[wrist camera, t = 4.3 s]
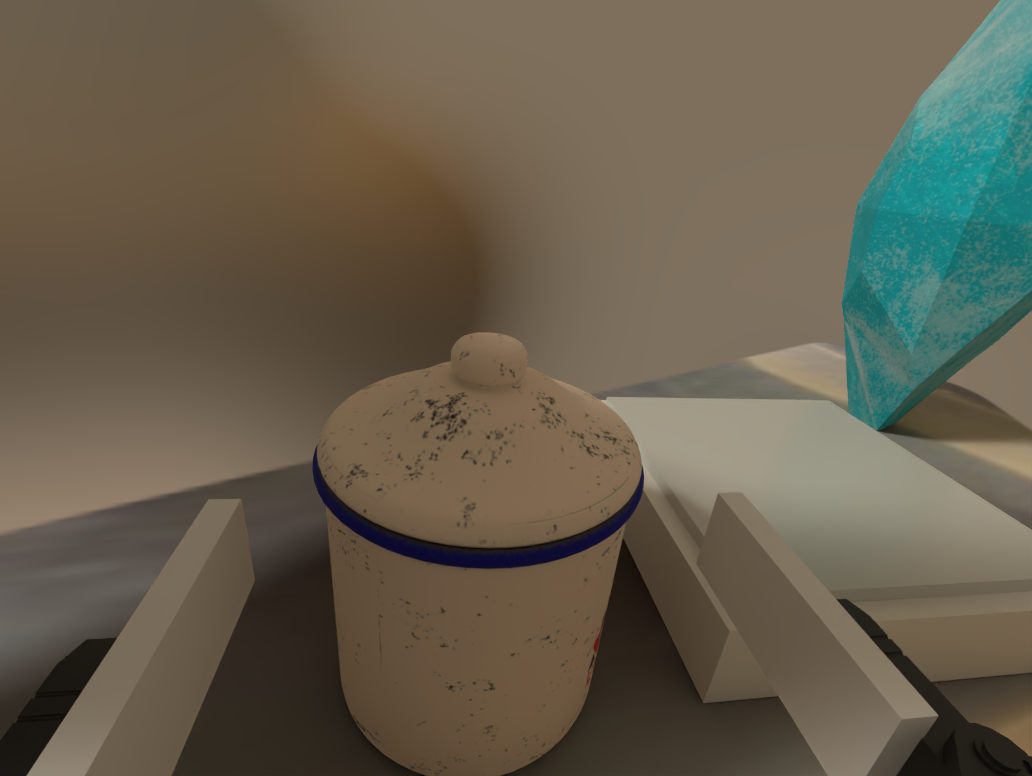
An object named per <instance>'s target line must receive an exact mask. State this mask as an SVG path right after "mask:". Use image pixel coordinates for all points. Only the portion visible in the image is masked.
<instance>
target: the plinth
mask: <svg viewBox="0 0 1032 776" xmlns="http://www.w3.org/2000/svg"><path fill="white" fill-rule="evenodd" d="M600 401H601V402H603V403H604V404H606V405H607V406H608V407H610V408H611V409H612V410H613V411H614V412H615V413H617V414H618V415H619V416H620V417H621V419H622V420H623V421H624V422H625V423H626V425H627V426H628V427H629V429H630V430H631V432H632V434H633V436H634V438H635V440H636V442H637V444H638V447H639V450H640V454H641V460H642V466H643V471H644V488H643V492H642V496H641V499H640V501H639V503H638V506H637V508H636V510H635V511H634V513H633V514H632V515H631V517H630V518H629V519H628V520H627V522H626V525H625V530H624V534H623V539H624V541H625V543H626V545H627V547H628V549H629V551H630V553H631V555H632V557H633V559H634V561H635V563H636V565H637V568H638V570H639V572H640V574H641V576H642V578H643V580H644V582H645V584H646V586H647V588H648V590H649V592H650V594H651V596H652V598H653V601H654V603H655V605H656V607H657V609H658V611H659V613H660V615H661V617H662V619H663V621H664V623H665V625H666V627H667V629H668V631H669V634H670V636H671V638H672V640H673V642H674V644H675V646H676V648H677V650H678V652H679V654H680V656H681V658H682V660H683V662H684V665H685V667H686V669H687V671H688V673H689V675H690V677H691V679H692V681H693V683H694V685H695V687H696V689H697V691H698V693H699V695H700V698H701V700H702V702H703V703H711V702H721V701H732V700H743V699H754V698H764V697H775V696H778V695H777V693H776V692H775V690H774V688H773V687H772V685H771V684H770V682H769V680H768V679H767V677H766V676H765V674H764V672H763V671H762V669H761V667H760V666H759V664H758V663H757V661H756V659H755V658H754V656H753V655H752V653H751V651H750V650H749V648H748V647H747V645H746V643H745V642H744V640H743V638H742V637H741V635H740V634H739V632H738V630H737V629H736V627H735V626H734V624H733V622H732V621H731V619H730V617H729V616H728V614H727V613H726V611H725V609H724V608H723V606H722V605H721V603H720V601H719V600H718V598H717V597H716V595H715V593H714V592H713V590H712V588H711V587H710V585H709V584H708V582H707V580H706V579H705V577H704V576H703V574H702V572H701V571H700V569H699V568H698V566H697V564H696V563H697V559H698V556H699V553H700V550H701V546H702V543H703V540H704V537H705V533H706V530H707V527H708V524H709V520H710V517H711V514H712V511H713V507H714V504H715V501H716V497H717V494H718V493H732V492H742V493H743V494H744V496H745V497H746V498H747V499H748V500H749V501H750V502H751V503H752V505H753V506H754V507H755V508H756V509H757V510H758V511H759V513H760V514H761V515H762V516H763V517H764V518H765V519H766V520H767V522H768V523H769V524H770V525H771V526H772V527H773V528H774V530H775V531H776V532H777V533H778V534H779V535H780V536H781V537H782V539H783V540H784V541H785V542H786V543H787V544H788V545H789V547H790V548H791V549H792V550H793V551H794V552H795V553H796V554H797V556H798V557H799V558H800V559H801V560H802V561H803V562H804V564H805V565H806V566H807V567H808V568H809V569H810V570H811V571H812V573H813V574H814V575H815V576H816V577H817V578H818V579H819V581H820V582H821V583H822V584H823V585H824V586H825V587H826V588H827V590H828V591H829V592H830V593H831V594H832V595H833V596H834V598H835V599H847V600H849V601H850V602H852V603H853V604H854V605H856V606H857V607H858V608H860V609H861V610H863V611H864V612H865V613H867V614H868V615H869V616H870V617H871V618H872V619H873V620H874V621H875V622H876V623H877V624H878V625H879V626H880V627H881V629H882V630H883V631H884V632H885V633H886V634H887V635H888V639H892V640H893V641H894V643H895V644H896V645H897V646H898V647H899V648H900V649H901V650H902V651H903V652H902V653H903V655H904V656H907V657H908V658H909V659H910V660H911V661H912V662H913V663H914V664H915V665H916V666H917V667H918V669H919V670H920V671H921V672H922V673H923V674H924V675H925V676H926V677H927V678H928V679H929V680H930V682H936V681H947V680H957V679H968V678H979V677H989V676H1000V675H1011V674H1022V673H1032V530H1031V529H1029V528H1028V527H1026V526H1025V525H1023V524H1021V523H1020V522H1018V521H1017V520H1015V519H1014V518H1012V517H1011V516H1009V515H1007V514H1006V513H1004V512H1003V511H1001V510H1000V509H998V508H996V507H995V506H993V505H992V504H990V503H989V502H987V501H985V500H984V499H982V498H981V497H979V496H978V495H976V494H974V493H973V492H971V491H970V490H968V489H967V488H965V487H964V486H962V485H960V484H959V483H957V482H956V481H954V480H953V479H951V478H949V477H948V476H946V475H945V474H943V473H942V472H940V471H938V470H937V469H935V468H934V467H932V466H931V465H929V464H928V463H926V462H924V461H923V460H921V459H920V458H918V457H917V456H915V455H913V454H912V453H910V452H909V451H907V450H906V449H904V448H902V447H901V446H899V445H898V444H896V443H895V442H893V441H891V440H890V439H888V438H887V437H885V436H884V435H882V434H881V433H879V432H877V431H876V430H874V429H873V428H871V427H870V426H868V425H866V424H865V423H863V422H862V421H860V420H859V419H857V418H855V417H854V416H852V415H851V414H849V413H848V412H846V411H844V410H843V409H841V408H840V407H838V406H837V405H835V404H834V403H832V402H830V401H829V400H770V399H704V398H639V397H607V400H600Z"/></svg>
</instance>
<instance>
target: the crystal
mask: <svg viewBox="0 0 1032 776" xmlns="http://www.w3.org/2000/svg"><path fill="white" fill-rule="evenodd" d="M842 308H843V316H844V328H845V349H846V369H847V388H848V408H849V414H851V415H852V416H854V417H855V418H857V419H859V420H860V421H862V422H863V423H865V424H866V425H868V426H870V427H871V428H873V429H874V430H876V431H880V430H882V429H884V428H887V427H889V426H891V425H893V424H894V423H895V422H896V421H898V420H899V419H900V418H901V417H902V416H904V415H905V414H906V413H907V412H908V411H910V410H911V409H912V408H913V407H914V406H916V405H917V404H918V403H919V402H920V401H922V400H923V399H924V398H925V397H926V396H928V395H929V394H930V393H931V392H933V391H934V390H935V389H936V388H938V387H939V386H940V385H941V384H943V383H944V382H945V381H946V380H948V379H949V378H950V377H951V376H952V375H954V374H955V373H956V372H957V371H959V370H960V369H961V368H962V367H964V366H965V365H966V364H967V363H969V362H970V361H971V360H973V359H974V358H975V357H976V356H978V355H979V354H980V353H982V352H983V351H984V350H986V349H987V348H988V347H990V346H991V345H992V344H994V343H995V342H996V341H998V340H999V339H1000V338H1001V337H1002V336H1003V335H1004V334H1006V333H1007V332H1008V331H1009V330H1010V329H1011V328H1012V327H1013V326H1014V325H1016V324H1017V323H1018V322H1019V321H1020V320H1021V319H1022V318H1024V316H1026V315H1027V314H1028V313H1029V312H1030V311H1031V310H1032V0H1000V2H999V3H998V4H997V5H996V7H995V8H994V9H993V10H992V12H991V13H990V14H989V15H988V16H987V18H986V19H985V20H984V21H983V23H982V24H981V25H980V26H979V27H978V29H977V30H976V31H975V32H974V34H973V35H972V36H971V37H970V38H969V40H968V41H967V42H966V43H965V45H964V46H963V47H962V48H961V49H960V51H959V52H958V53H957V54H956V56H955V57H954V58H953V59H952V60H951V62H950V63H949V64H948V65H947V67H946V68H945V69H944V70H943V72H942V73H941V74H940V75H939V76H938V77H937V78H936V80H935V81H934V82H933V83H932V84H931V85H930V87H929V88H928V89H927V90H926V91H925V92H924V93H923V94H922V96H921V97H920V99H919V100H918V102H917V104H916V105H915V107H914V109H913V110H912V112H911V114H910V115H909V117H908V119H907V120H906V122H905V124H904V125H903V127H902V129H901V130H900V132H899V134H898V136H897V137H896V139H895V140H894V142H893V144H892V145H891V147H890V149H889V150H888V152H887V154H886V156H885V157H884V159H883V161H882V163H881V164H880V166H879V168H878V169H877V171H876V173H875V174H874V176H873V178H872V180H871V181H870V183H869V185H868V186H867V188H866V190H865V192H864V193H863V195H862V197H861V199H860V201H859V203H858V205H857V209H856V214H855V221H854V228H853V234H852V241H851V248H850V255H849V261H848V268H847V274H846V281H845V287H844V293H843V299H842Z"/></svg>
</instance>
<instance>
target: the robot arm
mask: <svg viewBox="0 0 1032 776" xmlns="http://www.w3.org/2000/svg"><path fill="white" fill-rule="evenodd" d="M696 564H697V566H698V568H699V569H700V571H701V572H702V574H703V576H704V577H705V579H706V580H707V582H708V584H709V585H710V587H711V588H712V590H713V592H714V593H715V595H716V597H717V598H718V600H719V601H720V603H721V605H722V606H723V608H724V609H725V611H726V613H727V614H728V616H729V617H730V619H731V621H732V622H733V624H734V626H735V627H736V629H737V630H738V632H739V634H740V635H741V637H742V638H743V640H744V642H745V643H746V645H747V647H748V648H749V650H750V651H751V653H752V655H753V656H754V658H755V659H756V661H757V663H758V664H759V666H760V667H761V669H762V671H763V672H764V674H765V676H766V677H767V679H768V680H769V682H770V684H771V685H772V687H773V688H774V690H775V692H776V693H777V695H778V696H779V698H780V700H781V701H782V703H783V705H784V706H785V708H786V709H787V711H788V713H789V714H790V716H791V717H792V719H793V721H794V722H795V724H796V725H797V727H798V729H799V730H800V732H801V734H802V735H803V737H804V738H805V740H806V742H807V743H808V745H809V746H810V748H811V750H812V751H813V753H814V754H815V756H816V758H817V759H818V761H819V763H820V764H821V766H822V767H823V769H824V771H825V772H826V774H827V775H828V776H1032V757H1031V756H1028V755H1027V754H1026V753H1025V752H1024V751H1023V750H1022V749H1021V748H1019V747H1018V746H1017V745H1016V744H1015V743H1013V742H1012V741H1011V740H1010V739H1008V738H1006V737H1005V736H1003V735H1001V734H1000V733H998V732H996V731H994V730H993V729H991V728H988V727H985V726H982V725H979V724H976V723H969V722H968V721H967V720H966V719H965V718H964V717H963V716H962V715H961V714H960V713H959V712H958V711H957V710H956V709H955V708H954V706H953V705H952V704H951V703H950V702H949V701H948V700H947V699H946V698H945V697H944V696H943V695H942V693H941V692H940V691H939V690H938V689H937V688H936V687H935V686H934V685H933V684H932V683H931V682H930V680H929V679H928V678H927V677H926V676H925V675H924V674H923V673H922V672H921V671H920V670H919V669H918V667H917V666H916V665H915V664H914V663H913V662H912V661H911V660H910V659H909V658H908V657H907V656H904V655H903V653H902V652H903V651H902V650H901V649H900V648H899V647H898V646H897V645H896V644H895V643H894V641H893V640H892V639H888V635H887V634H886V633H885V632H884V631H883V630H882V629H881V627H880V626H879V625H878V624H877V623H876V622H875V621H874V620H873V619H872V618H871V617H870V616H869V615H868V614H867V613H865V612H864V611H863V610H861V609H860V608H858V607H857V606H856V605H854V604H853V603H852V602H850V601H849V600H847V599H835V598H834V596H833V595H832V594H831V593H830V592H829V591H828V590H827V588H826V587H825V586H824V585H823V584H822V583H821V582H820V581H819V579H818V578H817V577H816V576H815V575H814V574H813V573H812V571H811V570H810V569H809V568H808V567H807V566H806V565H805V564H804V562H803V561H802V560H801V559H800V558H799V557H798V556H797V554H796V553H795V552H794V551H793V550H792V549H791V548H790V547H789V545H788V544H787V543H786V542H785V541H784V540H783V539H782V537H781V536H780V535H779V534H778V533H777V532H776V531H775V530H774V528H773V527H772V526H771V525H770V524H769V523H768V522H767V520H766V519H765V518H764V517H763V516H762V515H761V514H760V513H759V511H758V510H757V509H756V508H755V507H754V506H753V505H752V503H751V502H750V501H749V500H748V499H747V498H746V497H745V496H744V494H743V493H742V492H732V493H718V494H717V497H716V501H715V504H714V507H713V511H712V514H711V517H710V520H709V524H708V527H707V530H706V533H705V537H704V540H703V543H702V546H701V550H700V553H699V556H698V559H697V563H696ZM254 581H255V577H254V571H253V565H252V560H251V554H250V548H249V542H248V536H247V530H246V524H245V518H244V513H243V507H242V501H241V499H208V501H207V503H206V504H205V506H204V507H203V509H202V510H201V512H200V513H199V515H198V516H197V518H196V519H195V521H194V522H193V524H192V525H191V527H190V528H189V530H188V531H187V533H186V534H185V536H184V537H183V539H182V541H181V542H180V544H179V545H178V547H177V548H176V550H175V551H174V553H173V554H172V556H171V557H170V559H169V560H168V562H167V563H166V565H165V566H164V568H163V569H162V571H161V572H160V574H159V575H158V577H157V578H156V580H155V582H154V583H153V585H152V586H151V588H150V589H149V591H148V592H147V594H146V595H145V597H144V598H143V600H142V601H141V603H140V604H139V606H138V607H137V609H136V610H135V612H134V613H133V615H132V616H131V618H130V620H129V621H128V623H127V624H126V626H125V627H124V629H123V630H122V632H121V633H120V635H119V636H118V638H108V639H89V640H86V641H84V642H83V643H82V644H81V645H80V646H78V647H77V648H76V649H75V650H74V651H72V652H71V653H70V654H69V655H68V656H66V657H65V658H64V659H63V660H62V661H60V662H59V663H58V664H57V665H56V666H55V668H54V669H53V670H52V672H51V673H50V674H49V676H48V677H47V678H46V680H45V681H44V683H43V684H42V685H41V687H40V688H39V689H38V691H37V692H36V696H35V698H34V699H31V700H30V701H29V703H28V704H27V705H26V707H25V708H24V709H23V711H22V712H21V714H20V715H19V716H18V721H17V722H16V723H13V724H12V726H11V727H10V728H9V730H8V731H7V732H6V734H5V735H4V736H3V738H2V739H1V740H0V776H172V774H173V771H174V769H175V767H176V764H177V762H178V759H179V757H180V755H181V752H182V750H183V748H184V745H185V743H186V741H187V738H188V736H189V734H190V731H191V729H192V727H193V724H194V722H195V720H196V717H197V715H198V713H199V710H200V708H201V706H202V703H203V701H204V699H205V696H206V694H207V692H208V689H209V687H210V685H211V682H212V680H213V678H214V675H215V673H216V670H217V668H218V666H219V663H220V661H221V659H222V656H223V654H224V652H225V649H226V647H227V645H228V642H229V640H230V638H231V635H232V633H233V631H234V628H235V626H236V624H237V621H238V619H239V617H240V614H241V612H242V610H243V607H244V605H245V603H246V600H247V598H248V596H249V593H250V591H251V588H252V586H253V584H254Z"/></svg>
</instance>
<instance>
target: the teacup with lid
mask: <svg viewBox="0 0 1032 776" xmlns="http://www.w3.org/2000/svg"><path fill="white" fill-rule="evenodd" d="M451 353H452V354H451V361H450V362H445V363H442V364H439V365H436V366H433V367H430V368H428V369H423V370H418V371H412V372H407V373H403V374H400V375H396V376H392V377H390V378H386V379H384V380H381V381H379V382H376V383H374V384H372V385H370V386H368V387H365V388H364V389H362V390H360V391H358V392H357V393H355V394H354V395H352V396H351V397H349V398H348V399H347V400H346V401H345V402H343V403H342V404H341V405H340V406H339V407H338V408H337V409H336V410H335V411H334V412H333V414H332V415H331V416H330V418H329V420H328V421H327V423H326V424H325V426H324V428H323V430H322V432H321V434H320V437H319V441H318V444H317V446H316V449H315V453H314V457H313V476H314V482H315V485H316V488H317V491H318V493H319V495H320V497H321V498H322V500H323V502H324V504H325V505H326V512H327V523H328V535H329V547H330V559H331V570H332V582H333V594H334V605H335V617H336V629H337V641H338V652H339V664H340V676H341V683H342V689H343V693H344V697H345V700H346V703H347V706H348V708H349V711H350V713H351V715H352V717H353V719H354V720H355V722H356V724H357V726H358V727H359V728H360V730H361V731H362V733H363V734H364V735H365V737H366V738H367V739H368V740H369V741H370V742H371V743H372V744H373V745H374V746H375V747H376V748H377V749H378V750H380V751H381V752H382V753H383V754H384V755H386V756H387V757H389V758H390V759H392V760H393V761H395V762H396V763H398V764H400V765H402V766H404V767H406V768H408V769H410V770H412V771H415V772H417V773H420V774H423V775H426V776H501V775H504V774H507V773H510V772H513V771H515V770H518V769H520V768H522V767H524V766H526V765H528V764H530V763H531V762H533V761H535V760H537V759H538V758H540V757H541V756H542V755H544V754H545V753H546V752H548V751H549V750H550V749H552V748H553V747H554V746H555V745H556V744H557V743H558V742H559V741H560V740H561V739H562V738H563V737H564V735H565V734H566V733H567V732H568V731H569V729H570V728H571V726H572V725H573V724H574V722H575V721H576V719H577V717H578V715H579V713H580V711H581V709H582V707H583V705H584V702H585V700H586V697H587V694H588V691H589V687H590V683H591V678H592V674H593V669H594V665H595V660H596V656H597V651H598V647H599V642H600V638H601V633H602V629H603V624H604V620H605V615H606V611H607V606H608V602H609V597H610V593H611V588H612V584H613V579H614V575H615V570H616V566H617V561H618V557H619V552H620V548H621V543H622V539H623V534H624V530H625V525H626V522H627V520H628V519H629V518H630V517H631V515H632V514H633V513H634V511H635V510H636V508H637V506H638V503H639V501H640V499H641V496H642V492H643V488H644V471H643V466H642V460H641V454H640V450H639V447H638V444H637V442H636V440H635V438H634V436H633V434H632V432H631V430H630V429H629V427H628V426H627V425H626V423H625V422H624V421H623V420H622V419H621V417H620V416H619V415H618V414H617V413H615V412H614V411H613V410H612V409H611V408H610V407H608V406H607V405H606V404H604V403H603V402H601V401H600V400H599V399H597V398H595V397H594V396H592V395H590V394H588V393H587V392H585V391H583V390H580V389H579V388H576V387H574V386H572V385H569V384H566V383H564V382H561V381H558V380H555V379H552V378H549V377H547V376H546V375H544V374H542V373H540V372H538V371H536V370H534V369H532V368H529V367H527V352H526V350H525V348H524V346H523V345H522V344H521V343H520V342H519V341H518V340H517V339H514V338H512V337H510V336H507V335H503V334H498V333H486V332H485V333H473V334H469V335H465V336H463V337H461V338H460V339H459V340H458V341H457V342H456V343H455V345H454V346H453V348H452V352H451Z"/></svg>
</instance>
